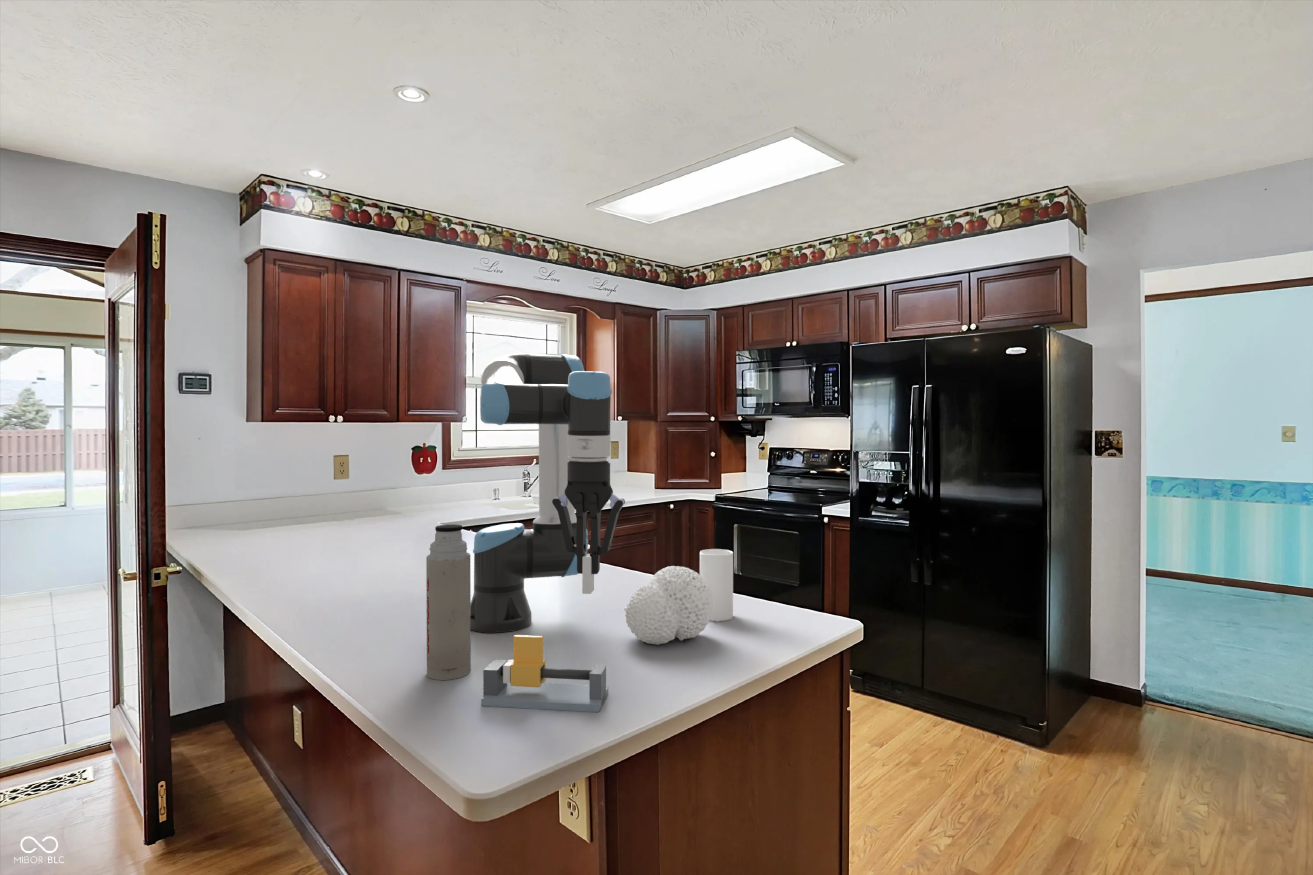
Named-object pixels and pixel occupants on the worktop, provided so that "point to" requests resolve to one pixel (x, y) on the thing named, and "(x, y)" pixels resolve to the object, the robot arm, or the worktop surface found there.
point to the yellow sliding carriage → (527, 661)
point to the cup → (719, 581)
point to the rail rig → (545, 689)
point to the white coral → (670, 606)
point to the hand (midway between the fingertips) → (588, 591)
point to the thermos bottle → (448, 605)
